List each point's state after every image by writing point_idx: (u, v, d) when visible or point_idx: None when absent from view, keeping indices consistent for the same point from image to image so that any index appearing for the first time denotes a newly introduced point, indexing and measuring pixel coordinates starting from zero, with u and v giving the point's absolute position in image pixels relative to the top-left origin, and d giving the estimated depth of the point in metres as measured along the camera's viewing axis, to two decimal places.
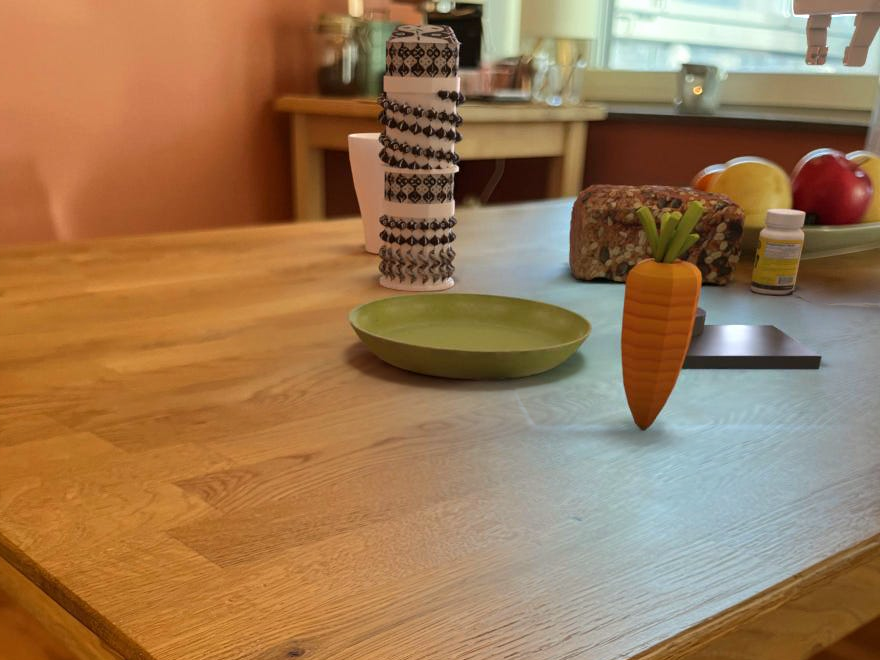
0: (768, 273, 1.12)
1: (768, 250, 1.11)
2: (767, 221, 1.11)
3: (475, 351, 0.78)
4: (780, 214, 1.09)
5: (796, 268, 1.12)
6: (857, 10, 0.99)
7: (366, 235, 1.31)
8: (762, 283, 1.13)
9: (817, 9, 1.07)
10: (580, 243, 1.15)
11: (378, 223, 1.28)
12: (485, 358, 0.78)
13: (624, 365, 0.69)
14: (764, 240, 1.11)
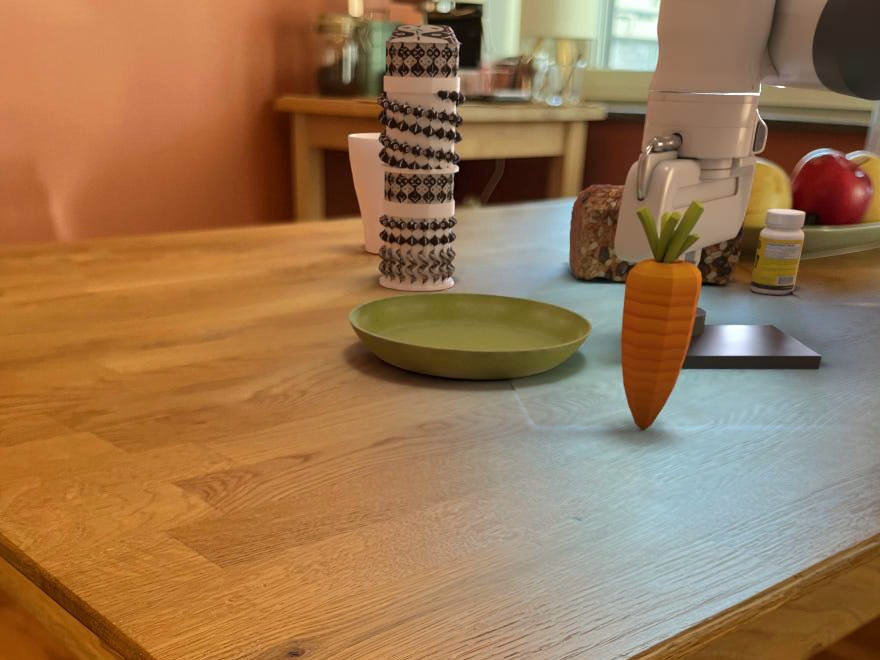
0: (768, 273, 1.12)
1: (768, 250, 1.11)
2: (767, 221, 1.11)
3: (475, 351, 0.78)
4: (780, 214, 1.09)
5: (796, 268, 1.12)
6: None
7: (366, 235, 1.31)
8: (762, 283, 1.13)
9: None
10: (580, 243, 1.15)
11: (378, 223, 1.28)
12: (485, 358, 0.78)
13: (624, 365, 0.69)
14: (764, 240, 1.11)
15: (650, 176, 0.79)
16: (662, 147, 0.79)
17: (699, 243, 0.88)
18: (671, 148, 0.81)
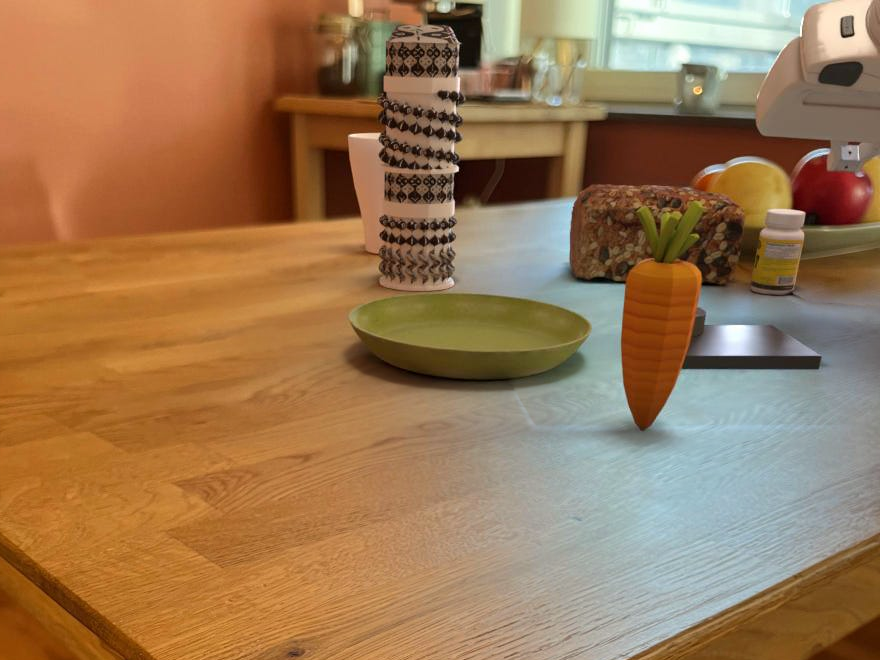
0: (768, 273, 1.12)
1: (768, 250, 1.11)
2: (767, 221, 1.11)
3: (475, 351, 0.78)
4: (780, 214, 1.09)
5: (796, 268, 1.12)
6: None
7: (366, 235, 1.31)
8: (762, 283, 1.13)
9: (836, 138, 0.91)
10: (580, 243, 1.15)
11: (378, 223, 1.28)
12: (485, 358, 0.78)
13: (624, 365, 0.69)
14: (764, 240, 1.11)
15: None
16: None
17: None
18: None
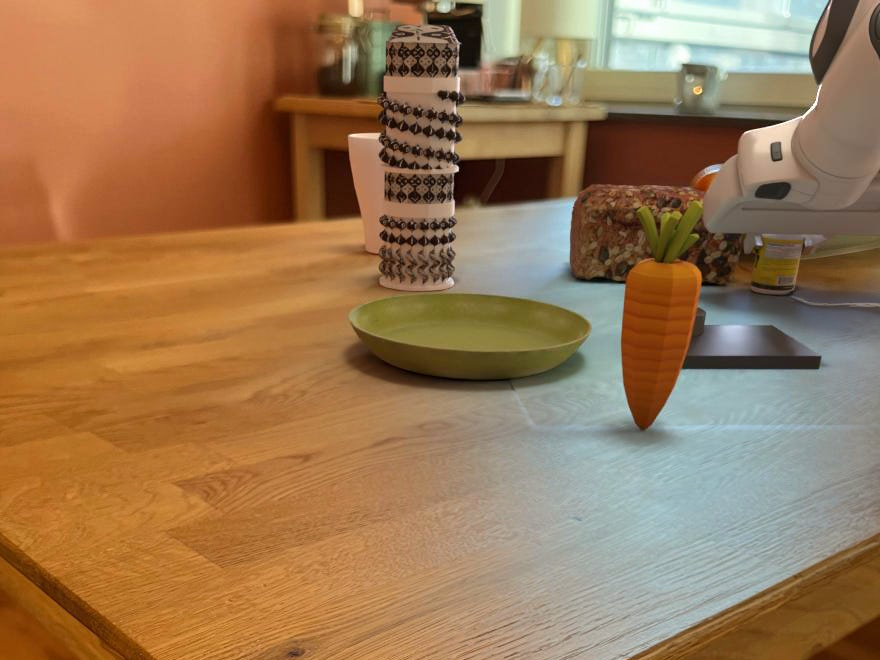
0: (768, 273, 1.12)
1: (768, 250, 1.11)
2: None
3: (475, 351, 0.78)
4: None
5: (796, 268, 1.12)
6: (857, 235, 1.08)
7: (366, 235, 1.31)
8: (762, 283, 1.13)
9: (771, 232, 1.08)
10: (579, 243, 1.15)
11: (378, 223, 1.28)
12: (485, 358, 0.78)
13: (624, 365, 0.69)
14: (764, 240, 1.11)
15: None
16: None
17: None
18: None
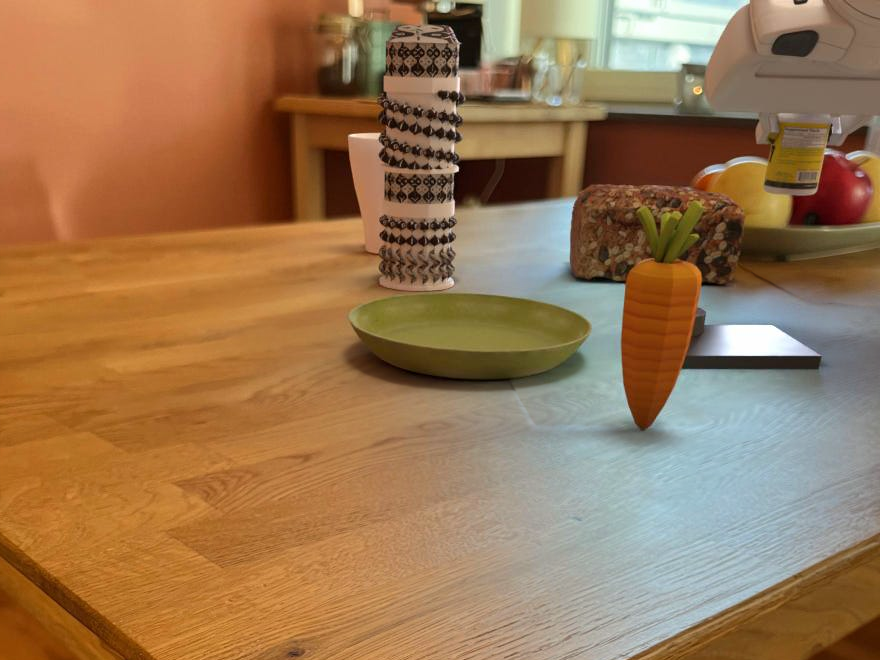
0: (786, 167, 0.90)
1: (786, 137, 0.89)
2: None
3: (475, 351, 0.78)
4: None
5: (821, 161, 0.90)
6: None
7: (366, 235, 1.31)
8: (778, 180, 0.91)
9: (791, 111, 0.86)
10: (579, 242, 1.15)
11: (378, 223, 1.28)
12: (485, 358, 0.78)
13: (624, 365, 0.69)
14: (781, 125, 0.90)
15: None
16: None
17: None
18: None
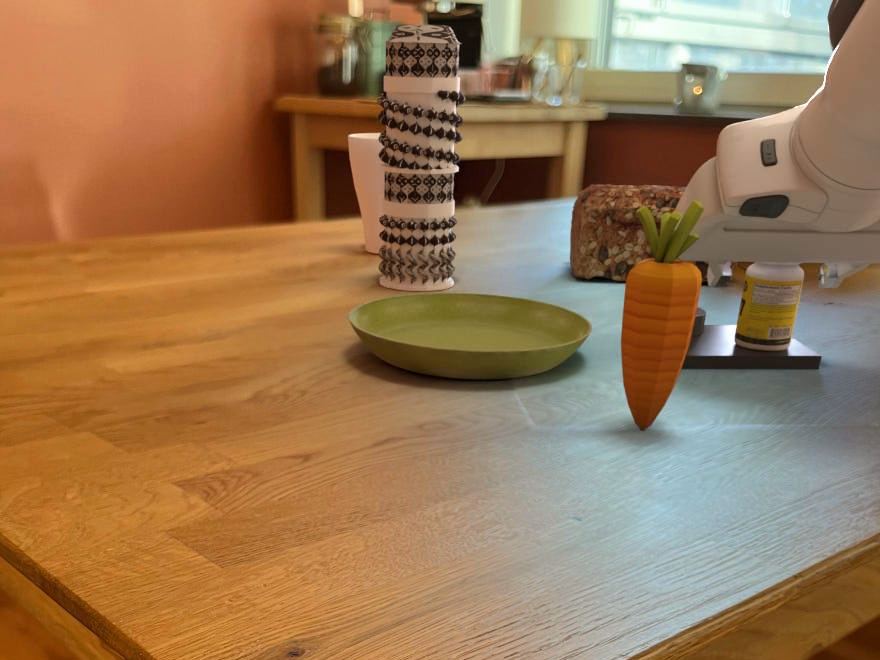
0: (757, 324, 0.86)
1: (757, 294, 0.85)
2: None
3: (475, 351, 0.78)
4: None
5: (793, 317, 0.86)
6: (877, 263, 0.81)
7: (366, 235, 1.31)
8: (749, 335, 0.86)
9: (763, 260, 0.81)
10: (579, 242, 1.15)
11: (378, 223, 1.28)
12: (485, 358, 0.78)
13: (624, 365, 0.69)
14: (751, 281, 0.85)
15: None
16: None
17: None
18: None
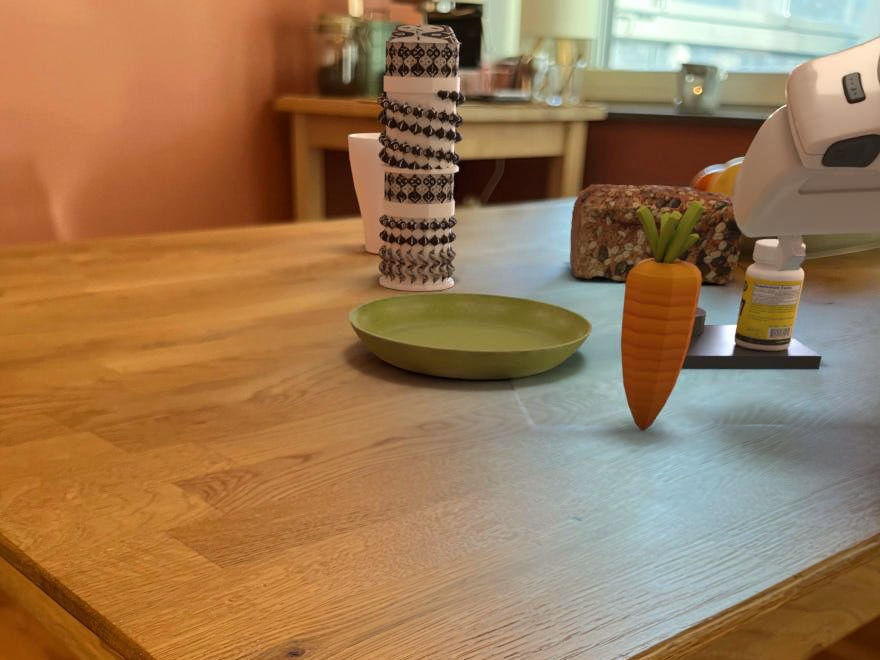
0: (757, 324, 0.86)
1: (757, 293, 0.85)
2: (755, 256, 0.84)
3: (475, 351, 0.78)
4: (772, 247, 0.83)
5: (793, 317, 0.86)
6: None
7: (366, 235, 1.31)
8: (749, 335, 0.86)
9: (845, 230, 0.68)
10: (579, 242, 1.15)
11: (378, 223, 1.28)
12: (485, 358, 0.78)
13: (624, 365, 0.69)
14: (751, 281, 0.85)
15: None
16: None
17: None
18: None
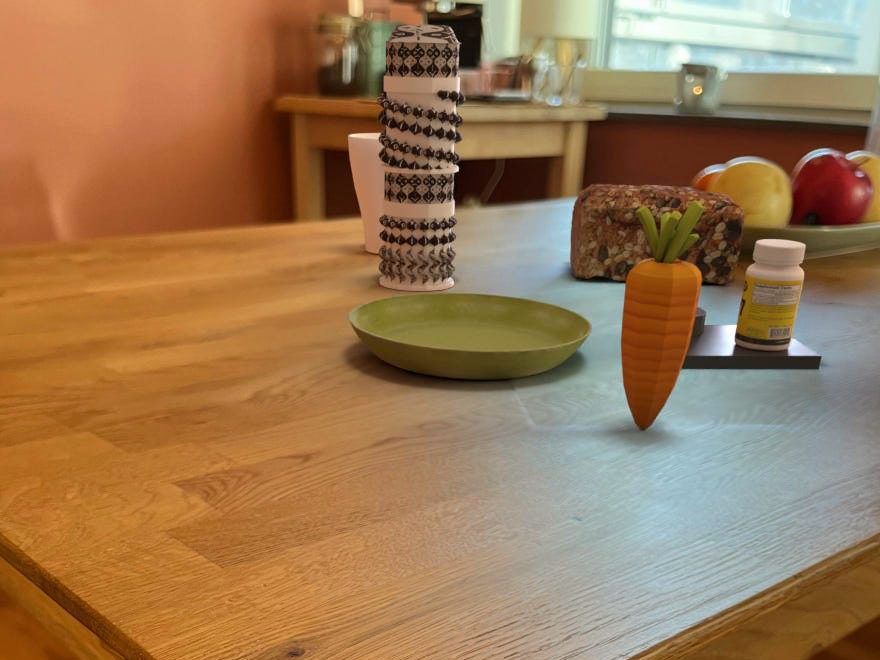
0: (757, 324, 0.86)
1: (757, 293, 0.85)
2: (755, 256, 0.84)
3: (475, 351, 0.78)
4: (772, 247, 0.83)
5: (793, 317, 0.86)
6: None
7: (366, 235, 1.31)
8: (749, 335, 0.86)
9: None
10: (579, 242, 1.15)
11: (378, 223, 1.28)
12: (485, 358, 0.78)
13: (624, 365, 0.69)
14: (751, 281, 0.85)
15: None
16: None
17: None
18: None
